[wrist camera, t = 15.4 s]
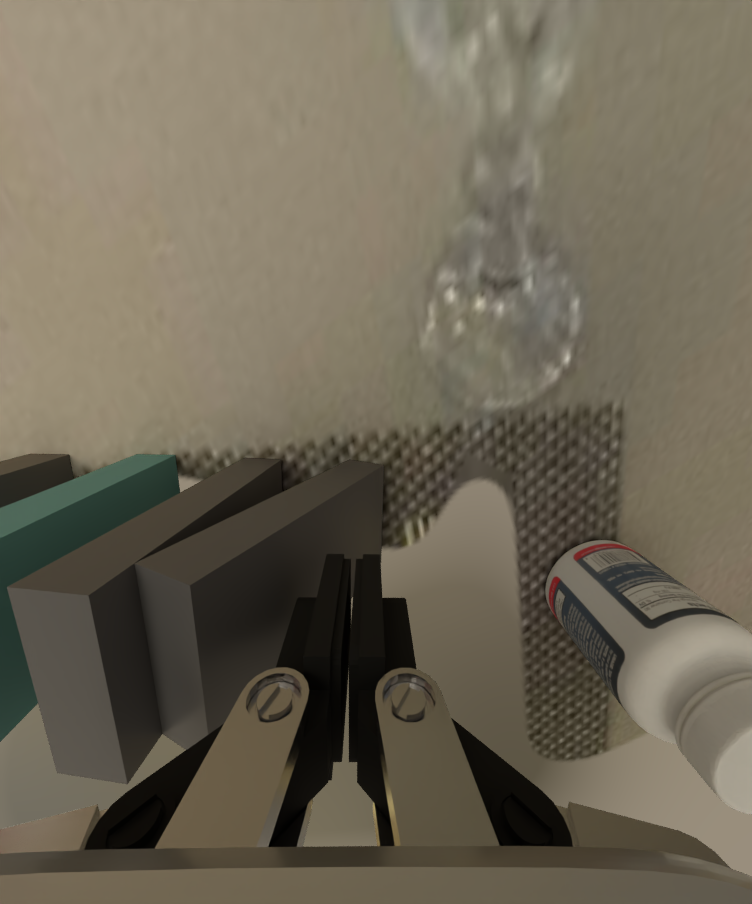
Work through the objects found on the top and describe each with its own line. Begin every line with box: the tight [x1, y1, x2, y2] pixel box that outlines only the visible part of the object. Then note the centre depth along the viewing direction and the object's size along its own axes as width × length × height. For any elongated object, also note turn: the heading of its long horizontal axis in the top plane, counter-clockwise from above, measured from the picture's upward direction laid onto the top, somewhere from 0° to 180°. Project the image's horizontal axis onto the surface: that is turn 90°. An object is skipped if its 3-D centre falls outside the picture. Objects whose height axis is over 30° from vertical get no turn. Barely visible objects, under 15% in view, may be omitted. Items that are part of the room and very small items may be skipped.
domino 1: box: [0, 454, 180, 742], centre depth 12 cm, size 2×5×10 cm, turn 179°
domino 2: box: [7, 458, 282, 784], centre depth 12 cm, size 2×5×10 cm, turn 179°
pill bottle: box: [545, 540, 752, 814], centre depth 14 cm, size 5×5×9 cm
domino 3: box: [134, 460, 384, 750], centre depth 13 cm, size 2×5×10 cm, turn 179°
